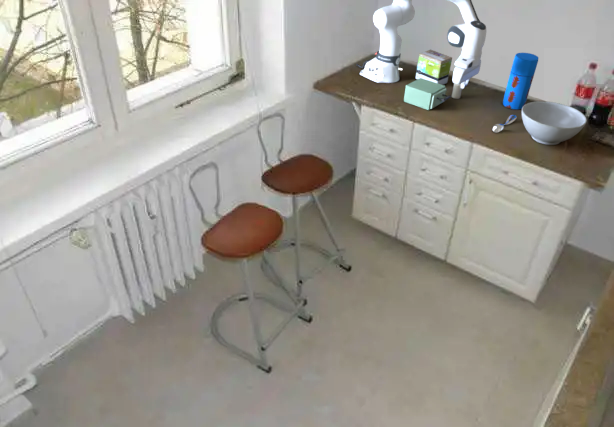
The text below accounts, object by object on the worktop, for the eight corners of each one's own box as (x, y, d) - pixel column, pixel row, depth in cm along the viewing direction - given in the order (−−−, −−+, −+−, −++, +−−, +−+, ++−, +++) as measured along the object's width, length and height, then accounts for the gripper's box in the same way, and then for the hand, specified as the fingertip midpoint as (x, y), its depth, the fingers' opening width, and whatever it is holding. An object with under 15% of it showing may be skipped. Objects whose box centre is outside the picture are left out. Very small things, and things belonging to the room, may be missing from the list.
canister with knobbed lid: (449, 96, 270) (455, 69, 261) (454, 94, 273) (459, 67, 264) (457, 99, 268) (463, 72, 259) (462, 96, 270) (467, 70, 262)
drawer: (451, 104, 261) (454, 91, 257) (439, 111, 253) (441, 98, 249) (421, 93, 270) (423, 81, 266) (408, 100, 263) (410, 88, 259)
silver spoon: (511, 109, 250) (520, 112, 248) (509, 116, 252) (518, 119, 250) (491, 125, 239) (501, 128, 236) (489, 132, 241) (499, 135, 239)
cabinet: (442, 102, 265) (445, 85, 260) (428, 110, 256) (431, 93, 251) (417, 93, 272) (420, 77, 267) (403, 101, 264) (405, 85, 259)
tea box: (414, 79, 288) (418, 52, 279) (426, 74, 293) (430, 48, 285) (436, 87, 279) (441, 60, 270) (447, 83, 284) (453, 56, 276)
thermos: (498, 104, 264) (511, 56, 249) (508, 98, 270) (521, 50, 255) (518, 111, 258) (533, 62, 243) (528, 105, 264) (542, 56, 249)
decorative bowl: (530, 119, 251) (537, 96, 244) (586, 139, 236) (596, 114, 229) (504, 137, 235) (511, 113, 228) (563, 159, 221) (572, 134, 213)
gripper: (474, 51, 246) (467, 79, 254) (453, 62, 233) (446, 91, 242) (486, 55, 242) (479, 83, 251) (465, 66, 230) (459, 95, 238)
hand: (463, 87), depth 246 cm, fingers closed
